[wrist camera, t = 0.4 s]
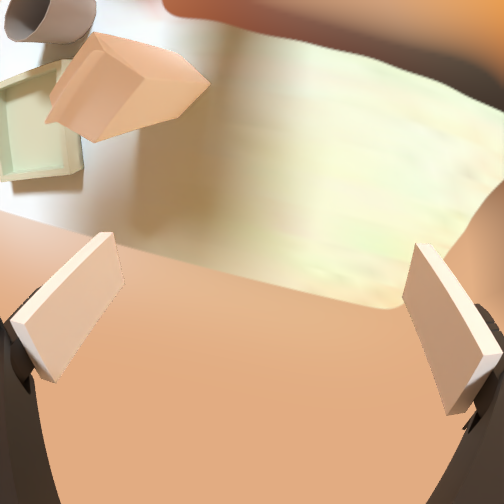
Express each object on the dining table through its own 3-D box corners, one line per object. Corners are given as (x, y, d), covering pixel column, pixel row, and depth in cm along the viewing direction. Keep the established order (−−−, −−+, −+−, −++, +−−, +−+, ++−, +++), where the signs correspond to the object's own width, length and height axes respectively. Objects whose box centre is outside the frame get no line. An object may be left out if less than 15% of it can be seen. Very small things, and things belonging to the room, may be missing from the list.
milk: (146, 87, 35) (19, 99, 16) (179, 52, 33) (65, 24, 13) (178, 119, 37) (67, 154, 17) (213, 84, 34) (121, 77, 15)
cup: (55, 53, 33) (8, 54, 24) (47, 11, 29) (1, 5, 21) (101, 25, 31) (56, 15, 22) (91, -19, 28) (48, -34, 19)
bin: (5, 84, 35) (-10, 86, 32) (76, 59, 33) (61, 59, 30) (14, 175, 42) (0, 182, 39) (84, 168, 41) (70, 174, 38)
